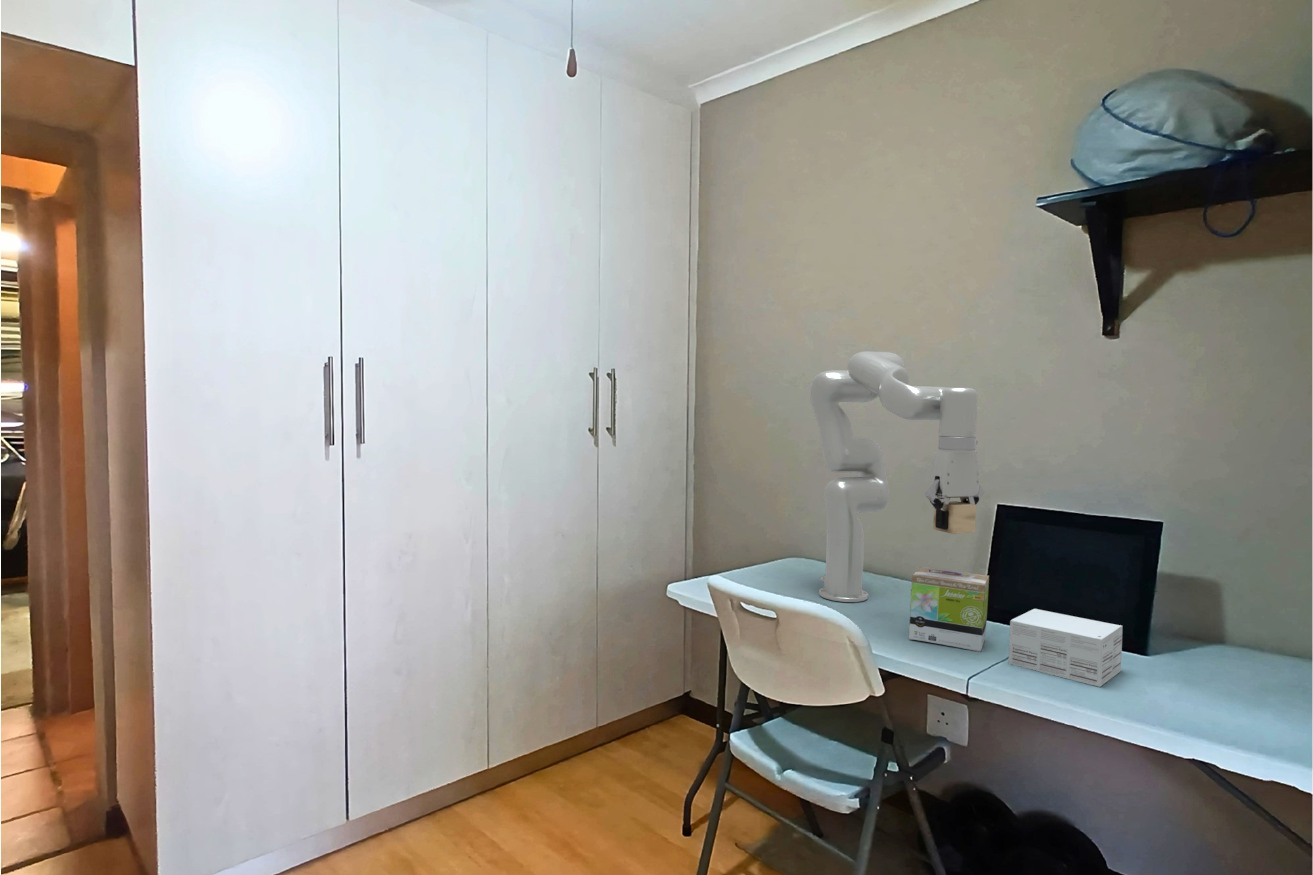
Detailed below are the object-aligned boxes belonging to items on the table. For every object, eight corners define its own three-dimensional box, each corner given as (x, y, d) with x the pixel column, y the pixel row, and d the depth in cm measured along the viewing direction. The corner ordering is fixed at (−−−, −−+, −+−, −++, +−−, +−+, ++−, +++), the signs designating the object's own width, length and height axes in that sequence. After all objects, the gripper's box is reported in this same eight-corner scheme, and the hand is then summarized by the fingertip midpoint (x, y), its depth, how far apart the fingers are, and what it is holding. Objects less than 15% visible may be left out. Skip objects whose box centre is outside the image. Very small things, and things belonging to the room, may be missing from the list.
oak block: (933, 529, 168) (934, 502, 168) (954, 527, 170) (955, 501, 170) (953, 534, 163) (954, 505, 162) (975, 532, 165) (976, 504, 165)
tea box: (907, 640, 168) (910, 574, 167) (915, 628, 176) (918, 565, 176) (982, 653, 161) (985, 583, 160) (986, 639, 169) (989, 573, 169)
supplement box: (1121, 671, 151) (1124, 625, 151) (1100, 688, 142) (1103, 639, 142) (1032, 649, 164) (1034, 606, 163) (1007, 664, 154) (1009, 618, 154)
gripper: (974, 443, 172) (971, 523, 173) (913, 444, 166) (910, 526, 167) (1000, 445, 165) (997, 528, 166) (938, 446, 159) (934, 532, 160)
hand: (953, 526), depth 167 cm, fingers closed on oak block, 6 cm apart
